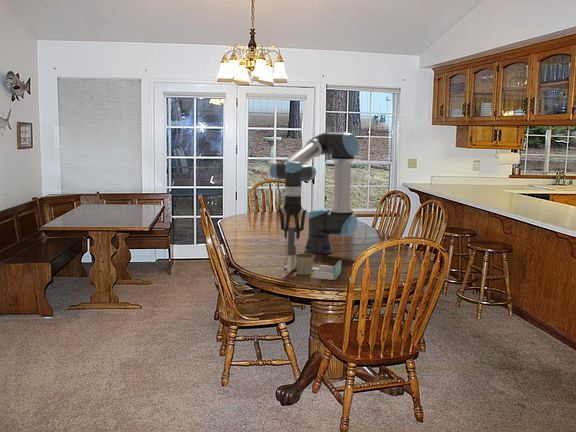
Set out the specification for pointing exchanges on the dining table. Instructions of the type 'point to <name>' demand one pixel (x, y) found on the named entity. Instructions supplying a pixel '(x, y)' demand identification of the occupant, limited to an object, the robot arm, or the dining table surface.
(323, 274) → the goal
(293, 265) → the paddle
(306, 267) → the flower pot
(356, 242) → the dining table surface
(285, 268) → the track
